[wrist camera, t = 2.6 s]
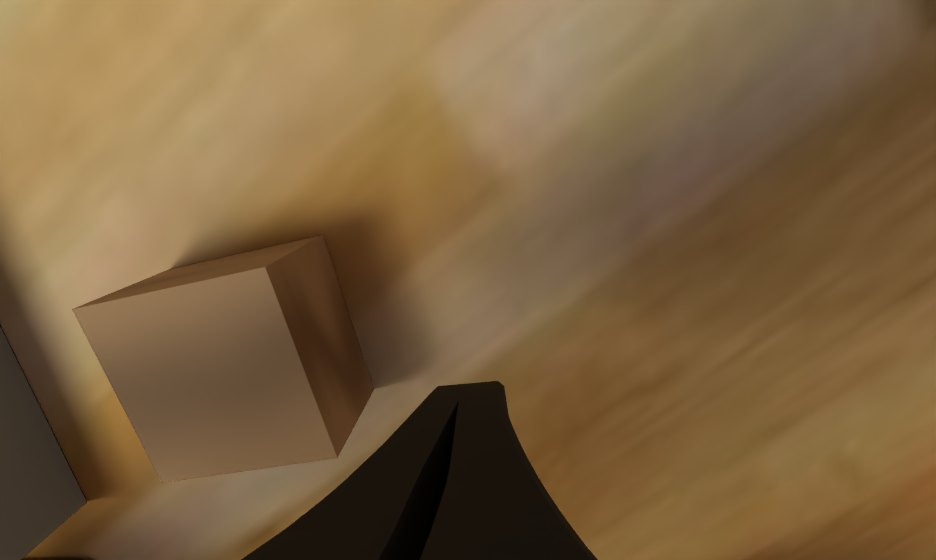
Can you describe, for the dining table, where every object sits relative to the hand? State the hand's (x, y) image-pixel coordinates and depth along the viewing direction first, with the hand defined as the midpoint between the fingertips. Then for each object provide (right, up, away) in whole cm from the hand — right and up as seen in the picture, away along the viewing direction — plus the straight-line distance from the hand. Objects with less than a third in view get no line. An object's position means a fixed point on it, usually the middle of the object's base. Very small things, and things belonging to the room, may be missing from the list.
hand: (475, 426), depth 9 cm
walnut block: (-7, +1, +8) cm, 11 cm away
